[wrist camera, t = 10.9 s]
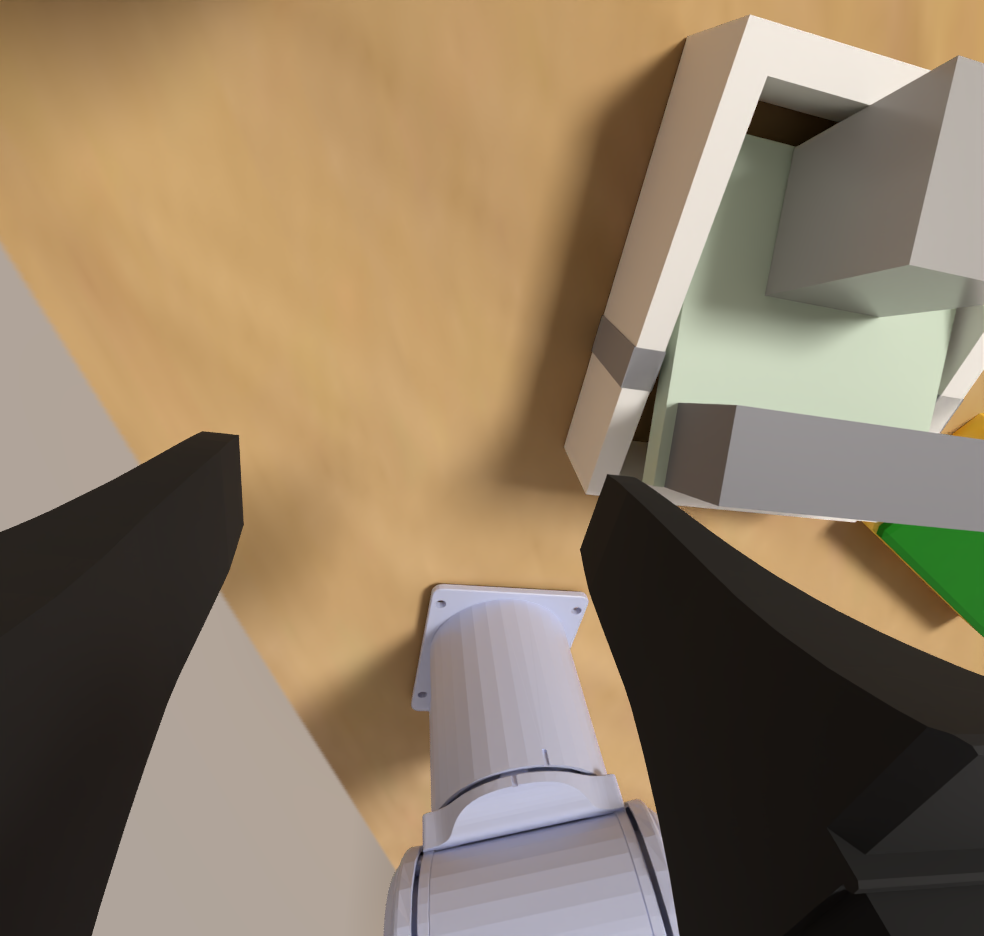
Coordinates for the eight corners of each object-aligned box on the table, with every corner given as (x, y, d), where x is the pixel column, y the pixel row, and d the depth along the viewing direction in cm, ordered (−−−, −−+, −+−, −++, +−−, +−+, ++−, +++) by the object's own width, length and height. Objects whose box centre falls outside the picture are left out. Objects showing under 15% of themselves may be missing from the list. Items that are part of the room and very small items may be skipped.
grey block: (879, 317, 18) (1055, 296, 13) (764, 295, 17) (908, 265, 13) (911, 178, 18) (1108, 103, 13) (794, 148, 17) (958, 55, 12)
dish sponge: (977, 404, 25) (1028, 428, 23) (1069, 536, 31) (1115, 565, 29) (845, 506, 27) (879, 536, 25) (953, 610, 33) (988, 642, 31)
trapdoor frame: (823, 478, 25) (876, 524, 22) (562, 449, 23) (583, 496, 20) (1029, 136, 18) (1147, 138, 15) (685, 35, 16) (748, 14, 13)
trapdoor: (891, 507, 20) (1001, 533, 17) (642, 482, 18) (705, 504, 15) (957, 202, 19) (1093, 157, 15) (697, 137, 17) (783, 67, 13)
